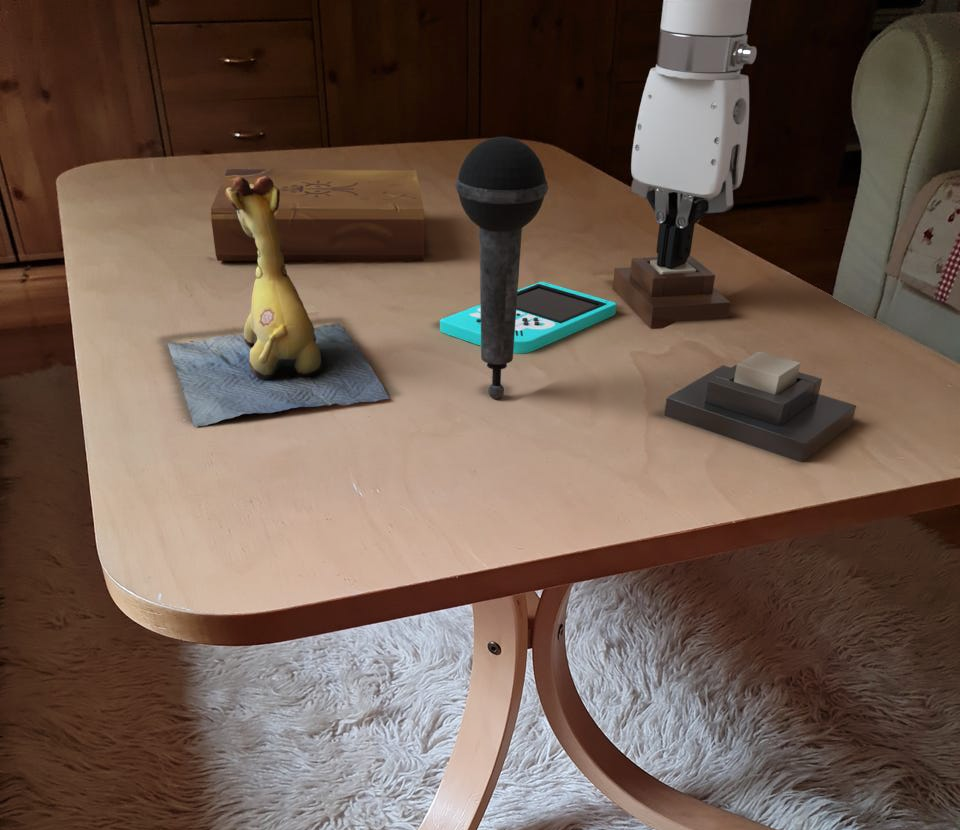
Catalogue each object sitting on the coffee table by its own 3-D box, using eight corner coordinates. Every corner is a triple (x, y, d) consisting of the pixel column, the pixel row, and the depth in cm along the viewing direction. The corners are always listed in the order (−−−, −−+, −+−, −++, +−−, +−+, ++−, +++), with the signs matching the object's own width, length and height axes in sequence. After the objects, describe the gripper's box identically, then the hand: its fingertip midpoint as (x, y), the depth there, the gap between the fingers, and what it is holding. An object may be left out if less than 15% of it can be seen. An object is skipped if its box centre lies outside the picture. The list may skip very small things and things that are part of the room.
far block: (727, 324, 100) (734, 283, 97) (650, 329, 98) (655, 287, 96) (683, 285, 109) (688, 247, 107) (612, 289, 108) (616, 250, 105)
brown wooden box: (217, 265, 112) (209, 210, 108) (233, 218, 126) (227, 169, 123) (424, 262, 114) (423, 208, 110) (416, 217, 128) (415, 168, 125)
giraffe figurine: (338, 324, 97) (320, 145, 87) (390, 405, 84) (376, 206, 74) (168, 349, 93) (129, 165, 83) (196, 438, 80) (153, 232, 70)
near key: (796, 384, 79) (800, 362, 78) (774, 398, 77) (779, 376, 76) (754, 371, 81) (758, 350, 80) (732, 385, 79) (736, 363, 78)
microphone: (483, 422, 81) (488, 151, 69) (440, 392, 86) (437, 133, 73) (552, 404, 84) (569, 142, 72) (507, 375, 89) (516, 124, 76)
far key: (694, 287, 101) (696, 269, 100) (660, 289, 100) (662, 271, 99) (681, 275, 104) (683, 258, 103) (647, 277, 103) (649, 260, 102)
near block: (850, 430, 81) (862, 383, 79) (799, 469, 76) (811, 420, 73) (718, 389, 87) (726, 344, 85) (662, 422, 82) (669, 375, 79)
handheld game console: (436, 330, 97) (436, 316, 96) (539, 291, 107) (540, 278, 106) (517, 358, 92) (517, 344, 91) (617, 314, 101) (619, 300, 101)
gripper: (795, 60, 89) (756, 272, 100) (651, 42, 96) (630, 241, 107) (754, 69, 84) (718, 291, 95) (606, 49, 91) (589, 256, 103)
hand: (671, 264), depth 101 cm, fingers closed
